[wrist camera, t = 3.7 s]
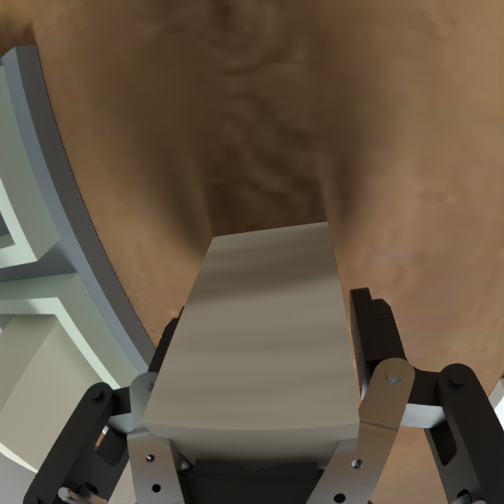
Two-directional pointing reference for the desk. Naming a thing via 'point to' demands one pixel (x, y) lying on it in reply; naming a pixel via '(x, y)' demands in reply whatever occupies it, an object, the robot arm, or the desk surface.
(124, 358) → the base board
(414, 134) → the desk surface
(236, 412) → the loose block
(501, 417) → the mounting plate
